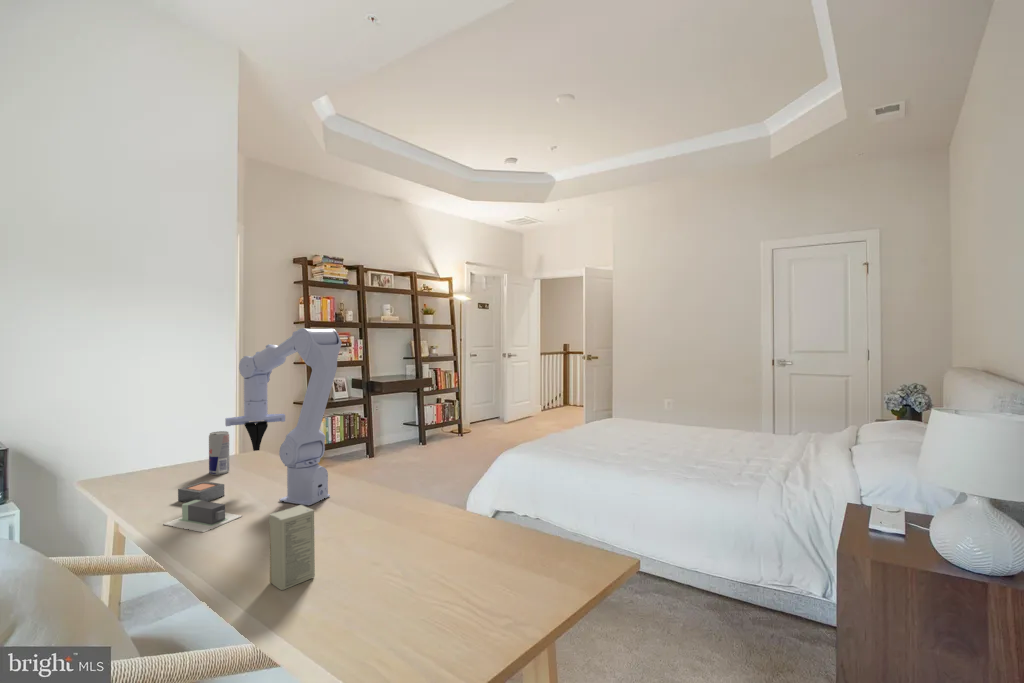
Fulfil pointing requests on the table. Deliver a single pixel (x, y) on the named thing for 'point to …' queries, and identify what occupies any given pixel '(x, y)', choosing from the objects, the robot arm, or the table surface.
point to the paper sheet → (200, 526)
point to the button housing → (201, 492)
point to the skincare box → (291, 546)
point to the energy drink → (218, 452)
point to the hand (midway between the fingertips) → (256, 449)
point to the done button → (201, 487)
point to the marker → (203, 511)
